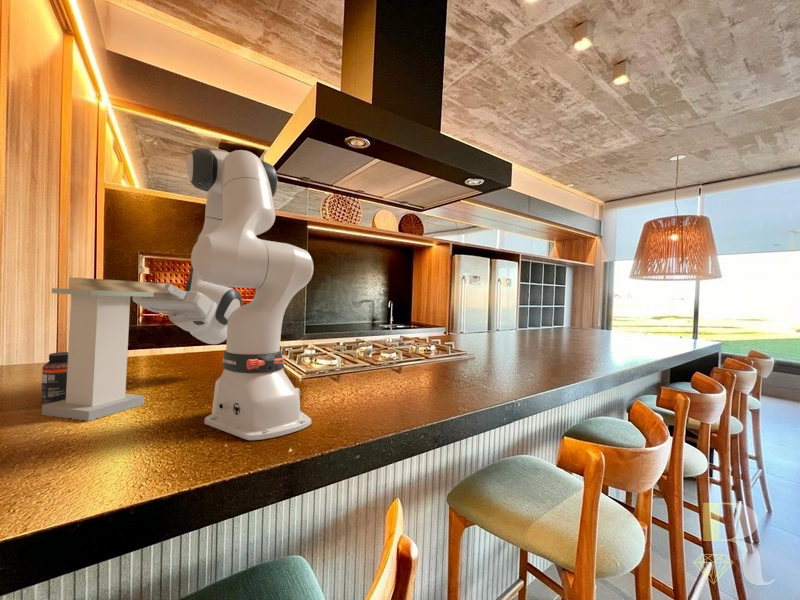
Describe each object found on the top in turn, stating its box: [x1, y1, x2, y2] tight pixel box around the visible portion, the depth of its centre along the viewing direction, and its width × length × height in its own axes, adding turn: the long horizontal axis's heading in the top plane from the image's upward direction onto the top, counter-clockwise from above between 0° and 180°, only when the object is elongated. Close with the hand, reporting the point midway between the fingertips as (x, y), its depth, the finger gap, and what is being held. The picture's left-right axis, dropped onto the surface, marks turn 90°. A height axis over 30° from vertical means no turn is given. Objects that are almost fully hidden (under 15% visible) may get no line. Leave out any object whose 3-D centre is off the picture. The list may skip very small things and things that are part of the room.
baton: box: [68, 277, 167, 293], centre depth 82 cm, size 22×3×2 cm, turn 169°
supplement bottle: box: [40, 351, 68, 406], centre depth 79 cm, size 6×6×11 cm
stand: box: [41, 287, 154, 422], centre depth 77 cm, size 14×12×26 cm
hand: (150, 285), depth 88 cm, fingers open, 8 cm apart
